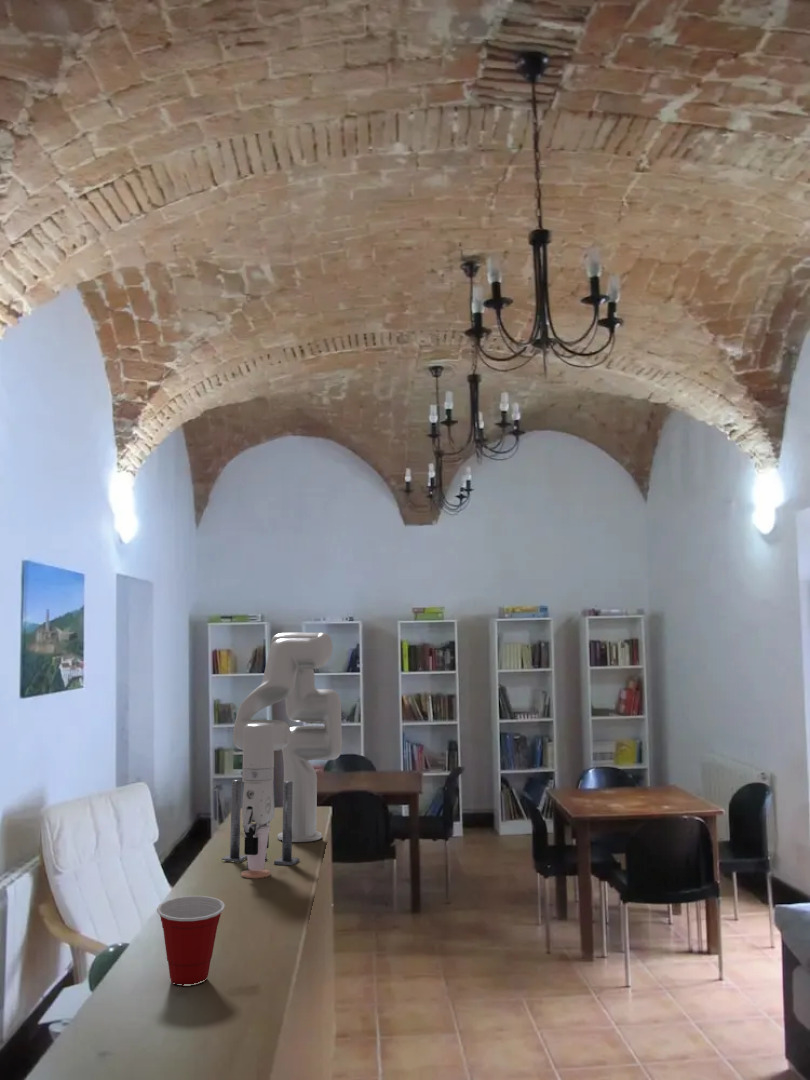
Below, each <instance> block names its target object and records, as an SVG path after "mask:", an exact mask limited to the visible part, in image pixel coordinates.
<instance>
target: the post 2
mask: <svg viewBox="0 0 810 1080" xmlns="http://www.w3.org/2000/svg"><path fill="white" fill-rule="evenodd" d="M282 786H283V787H282V793H283V794H282V795H283V796H282V832H283V836H282V844H281V845H282V849H281V853H282V855H281V856H280V857H278V858H277V859H274V861H273V864H275V865H276V864H277V866H278V865H279V866H294V865H296V864H298V863H299V862H300V857H293V853H292V851H293V849H292V848H293V842H292V802H293V782H292V781H286V782H284V781H283V785H282Z"/></svg>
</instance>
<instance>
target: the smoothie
mask: <svg viewBox="0 0 810 1080" xmlns="http://www.w3.org/2000/svg"><path fill="white" fill-rule="evenodd" d="M252 829H253V831H254V827H252ZM270 832H271V826H270V825H269V826H268V825H258V831H257V837H258V854H257V855H247V859H246V860H247V862H248V869H249V870H262V869H265V864H266V860H265V857H266V853H267V850H268V848H267V842H268V835H269V834H270ZM243 833H245V832H244V830H243ZM269 836H270V835H269ZM248 869H247V870H248Z"/></svg>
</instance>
